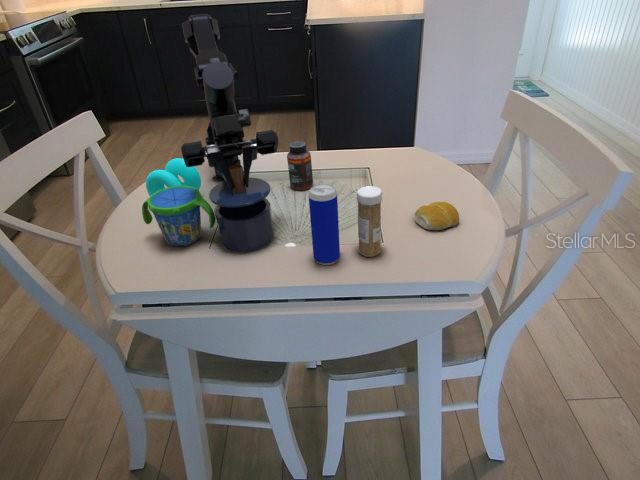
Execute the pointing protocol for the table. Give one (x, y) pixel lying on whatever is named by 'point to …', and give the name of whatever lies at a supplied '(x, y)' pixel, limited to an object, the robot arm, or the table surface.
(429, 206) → the bread roll
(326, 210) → the beverage can
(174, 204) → the snack cup
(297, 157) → the supplement bottle
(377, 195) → the spice jar
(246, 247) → the navy blue pot
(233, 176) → the lid
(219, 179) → the robot arm
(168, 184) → the donuts
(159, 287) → the table surface
